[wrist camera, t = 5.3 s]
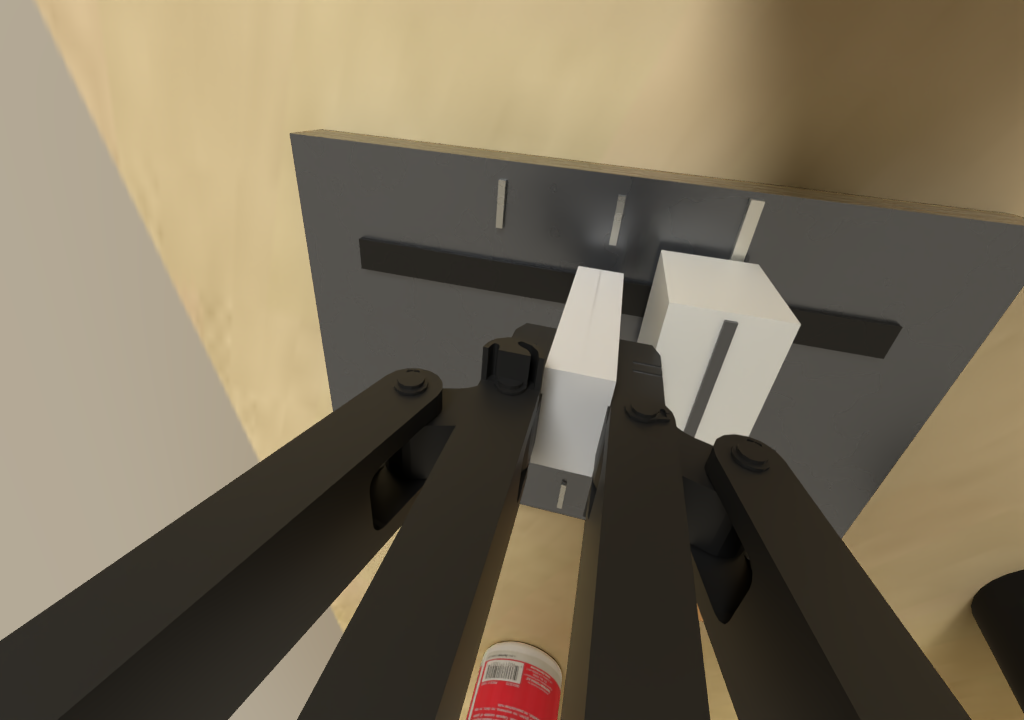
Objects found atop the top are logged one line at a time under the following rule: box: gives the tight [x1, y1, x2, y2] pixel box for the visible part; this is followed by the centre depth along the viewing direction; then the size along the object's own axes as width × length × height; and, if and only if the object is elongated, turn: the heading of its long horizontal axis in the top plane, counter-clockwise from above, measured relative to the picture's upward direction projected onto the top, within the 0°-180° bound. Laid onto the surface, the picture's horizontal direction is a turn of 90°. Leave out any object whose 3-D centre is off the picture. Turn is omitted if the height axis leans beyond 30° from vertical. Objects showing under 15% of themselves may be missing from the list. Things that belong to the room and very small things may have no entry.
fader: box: [637, 250, 801, 445], centre depth 14 cm, size 4×3×4 cm
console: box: [290, 129, 1024, 539], centre depth 19 cm, size 16×24×2 cm, turn 85°
